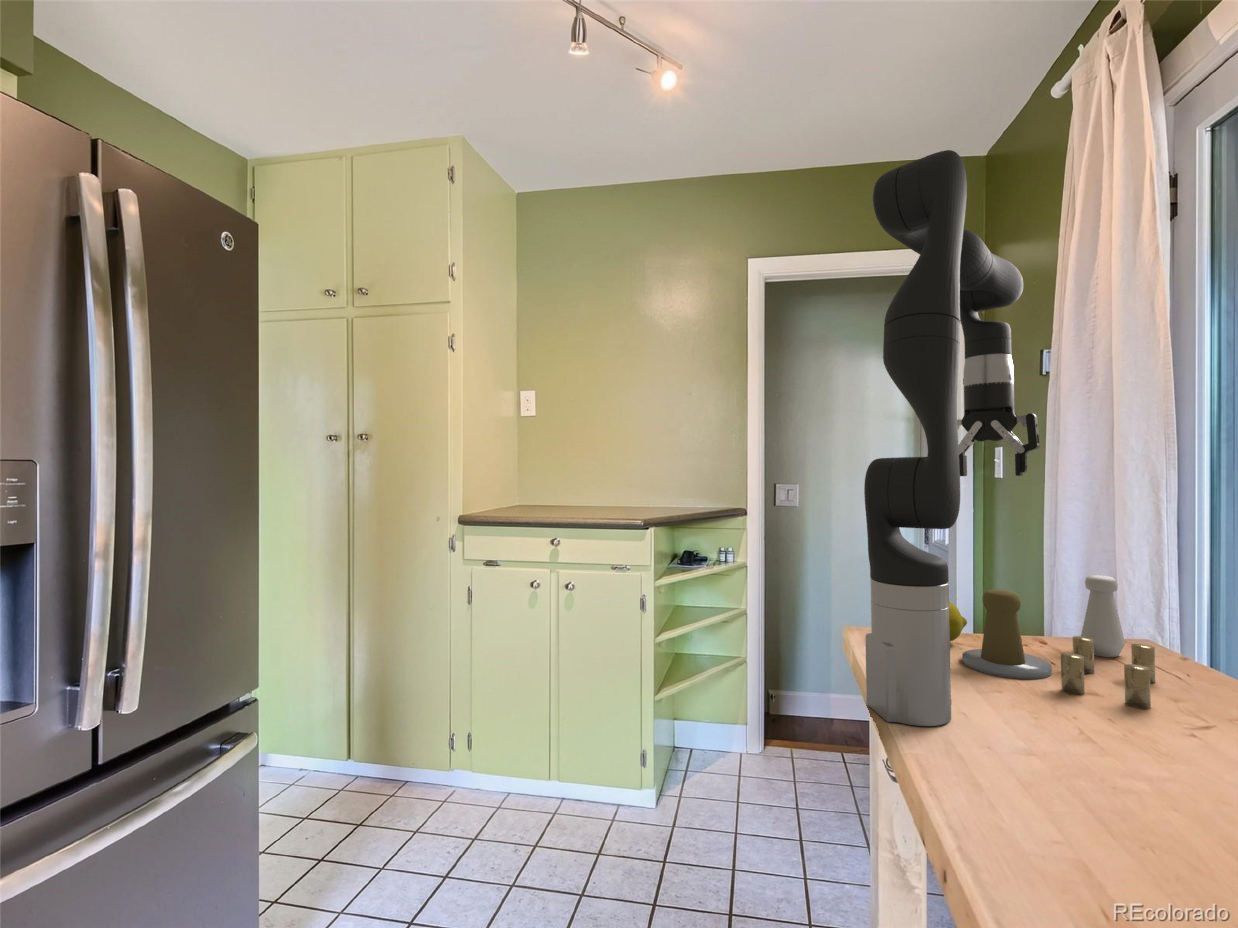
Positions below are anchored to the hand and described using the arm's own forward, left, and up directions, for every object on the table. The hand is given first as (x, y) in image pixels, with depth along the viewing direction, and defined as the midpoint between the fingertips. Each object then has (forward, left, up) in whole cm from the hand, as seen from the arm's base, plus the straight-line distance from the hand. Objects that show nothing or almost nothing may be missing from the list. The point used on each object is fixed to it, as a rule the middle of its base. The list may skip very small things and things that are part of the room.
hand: (990, 476), depth 106 cm
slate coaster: (-4, -9, -30) cm, 32 cm away
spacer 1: (-2, -20, -30) cm, 36 cm away
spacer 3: (+12, -17, -30) cm, 36 cm away
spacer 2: (+6, -12, -30) cm, 33 cm away
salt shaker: (+16, -4, -30) cm, 34 cm away
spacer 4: (+3, -26, -30) cm, 40 cm away
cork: (-4, -9, -29) cm, 31 cm away
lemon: (-8, +5, -30) cm, 32 cm away
